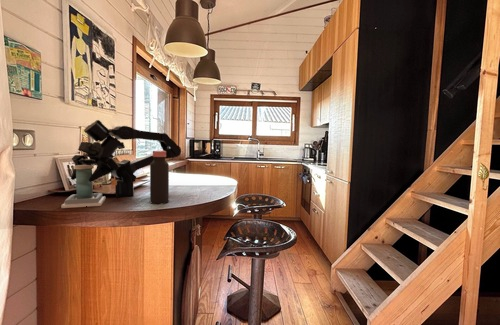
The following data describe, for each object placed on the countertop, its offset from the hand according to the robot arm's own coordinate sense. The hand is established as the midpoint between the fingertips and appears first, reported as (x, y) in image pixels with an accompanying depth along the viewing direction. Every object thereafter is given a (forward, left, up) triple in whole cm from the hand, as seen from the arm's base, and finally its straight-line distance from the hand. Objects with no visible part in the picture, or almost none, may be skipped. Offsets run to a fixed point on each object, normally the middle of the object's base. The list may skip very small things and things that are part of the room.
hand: (80, 180), depth 93 cm
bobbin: (-1, -1, -8) cm, 8 cm away
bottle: (-27, +5, -9) cm, 29 cm away
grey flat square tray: (-1, -1, -9) cm, 9 cm away
